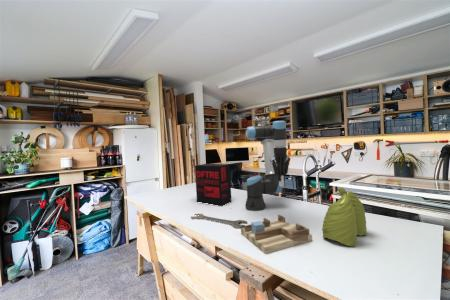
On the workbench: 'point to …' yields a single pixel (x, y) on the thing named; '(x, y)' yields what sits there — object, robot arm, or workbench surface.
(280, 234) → the tan flat ridged piece
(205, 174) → the product box
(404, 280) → the workbench surface
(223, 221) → the wrench
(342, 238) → the lungs
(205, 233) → the workbench surface
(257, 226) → the block
